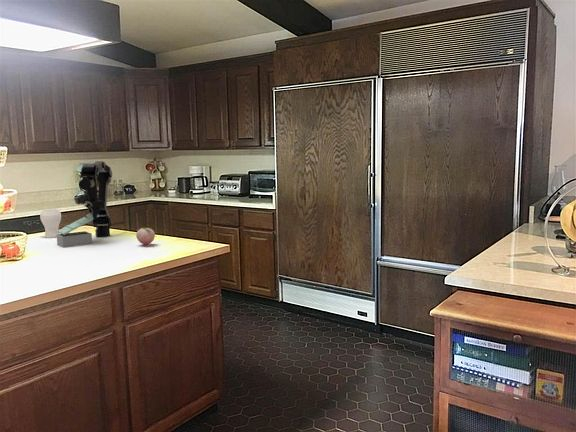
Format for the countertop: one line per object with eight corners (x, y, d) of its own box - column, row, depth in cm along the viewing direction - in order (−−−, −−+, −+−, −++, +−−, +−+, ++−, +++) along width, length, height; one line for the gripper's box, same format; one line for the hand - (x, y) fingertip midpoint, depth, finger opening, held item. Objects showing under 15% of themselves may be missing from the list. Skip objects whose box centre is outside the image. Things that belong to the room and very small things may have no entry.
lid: (94, 215, 253) (92, 210, 252) (101, 216, 245) (99, 211, 244) (58, 233, 242) (55, 228, 241) (65, 236, 234) (62, 230, 233)
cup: (47, 238, 263) (45, 211, 261) (38, 237, 269) (36, 210, 267) (66, 236, 271) (64, 209, 269) (56, 234, 278) (54, 208, 276)
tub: (85, 242, 251) (85, 231, 250) (92, 245, 244) (91, 233, 243) (57, 246, 242) (56, 234, 241) (63, 249, 235) (62, 237, 234)
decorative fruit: (159, 244, 242) (158, 225, 241) (146, 247, 236) (145, 227, 234) (146, 243, 248) (145, 224, 246) (133, 245, 241) (132, 226, 239)
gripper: (69, 188, 247) (71, 218, 250) (81, 190, 233) (83, 222, 236) (91, 187, 255) (93, 216, 257) (104, 189, 241) (106, 220, 243)
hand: (93, 218), depth 248 cm, fingers closed on lid, 3 cm apart
